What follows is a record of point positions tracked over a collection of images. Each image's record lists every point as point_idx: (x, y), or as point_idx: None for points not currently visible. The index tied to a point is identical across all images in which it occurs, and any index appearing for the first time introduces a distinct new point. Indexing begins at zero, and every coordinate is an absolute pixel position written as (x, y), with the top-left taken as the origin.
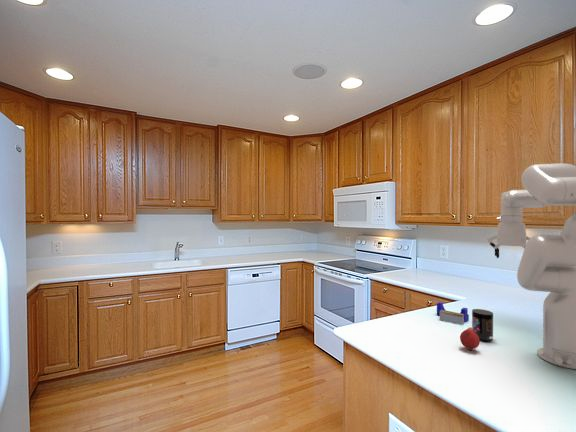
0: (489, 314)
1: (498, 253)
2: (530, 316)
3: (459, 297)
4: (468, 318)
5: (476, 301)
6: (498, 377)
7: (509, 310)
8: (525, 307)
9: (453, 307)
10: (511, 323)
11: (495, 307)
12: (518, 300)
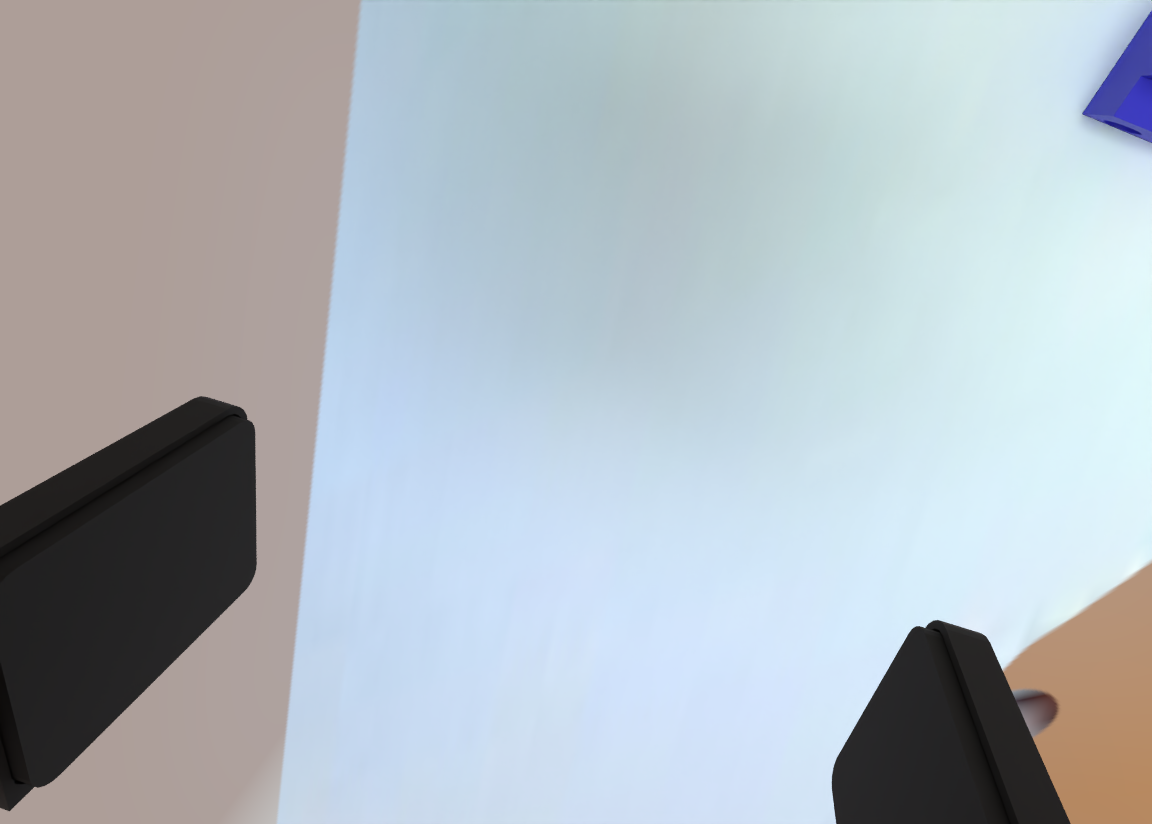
0: None
1: (960, 759)
2: (519, 475)
3: None
4: (1097, 107)
5: (820, 713)
6: None
7: (628, 566)
8: (513, 665)
9: (1100, 492)
10: (689, 225)
11: (711, 606)
12: (526, 796)
